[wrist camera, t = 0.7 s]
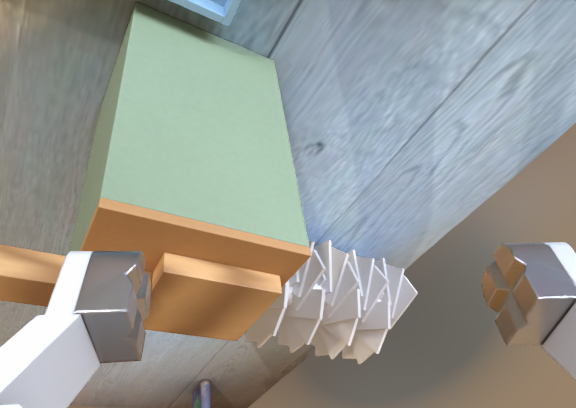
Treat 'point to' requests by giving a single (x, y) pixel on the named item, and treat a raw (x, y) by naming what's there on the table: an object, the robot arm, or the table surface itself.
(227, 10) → the tray
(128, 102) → the plinth
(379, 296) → the spiral staircase
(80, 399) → the table surface
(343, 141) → the table surface
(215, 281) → the paddle
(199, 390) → the flask
